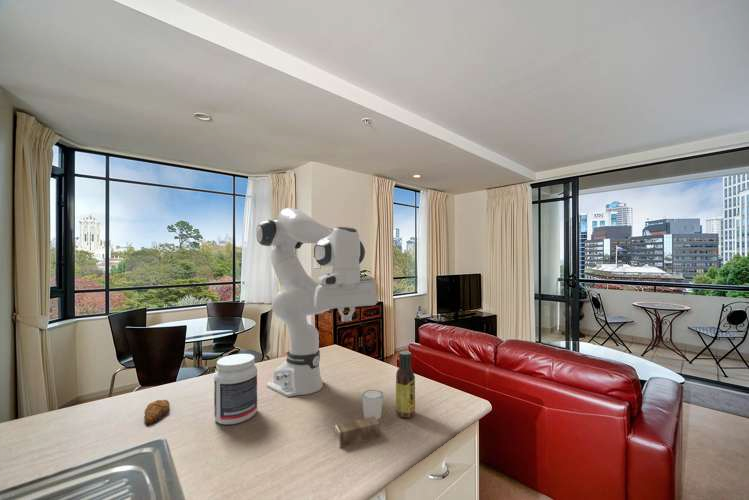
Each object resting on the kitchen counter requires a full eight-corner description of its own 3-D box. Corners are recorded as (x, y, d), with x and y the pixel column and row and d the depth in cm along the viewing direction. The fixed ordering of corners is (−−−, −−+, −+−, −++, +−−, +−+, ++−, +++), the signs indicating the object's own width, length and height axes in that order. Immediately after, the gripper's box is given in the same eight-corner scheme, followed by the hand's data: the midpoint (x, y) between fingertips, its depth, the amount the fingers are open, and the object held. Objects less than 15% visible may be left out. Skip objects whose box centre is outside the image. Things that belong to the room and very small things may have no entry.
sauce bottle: (414, 420, 97) (414, 356, 97) (394, 418, 98) (394, 355, 98) (415, 409, 103) (415, 350, 103) (397, 408, 104) (397, 349, 105)
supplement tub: (265, 410, 103) (265, 355, 103) (233, 431, 91) (233, 368, 92) (238, 403, 108) (238, 350, 109) (204, 421, 97) (204, 362, 97)
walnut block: (339, 432, 83) (379, 423, 88) (335, 425, 87) (374, 416, 92) (339, 447, 83) (379, 437, 88) (335, 439, 87) (374, 429, 92)
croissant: (153, 407, 106) (153, 392, 107) (176, 404, 108) (176, 390, 108) (135, 428, 93) (135, 411, 94) (160, 425, 95) (161, 408, 95)
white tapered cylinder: (385, 412, 102) (385, 391, 102) (379, 423, 95) (379, 400, 95) (366, 408, 104) (366, 388, 104) (358, 419, 98) (358, 397, 98)
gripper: (373, 275, 105) (373, 316, 105) (312, 277, 97) (312, 321, 97) (380, 277, 99) (380, 320, 99) (316, 279, 91) (317, 326, 91)
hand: (346, 321), depth 98 cm, fingers closed
